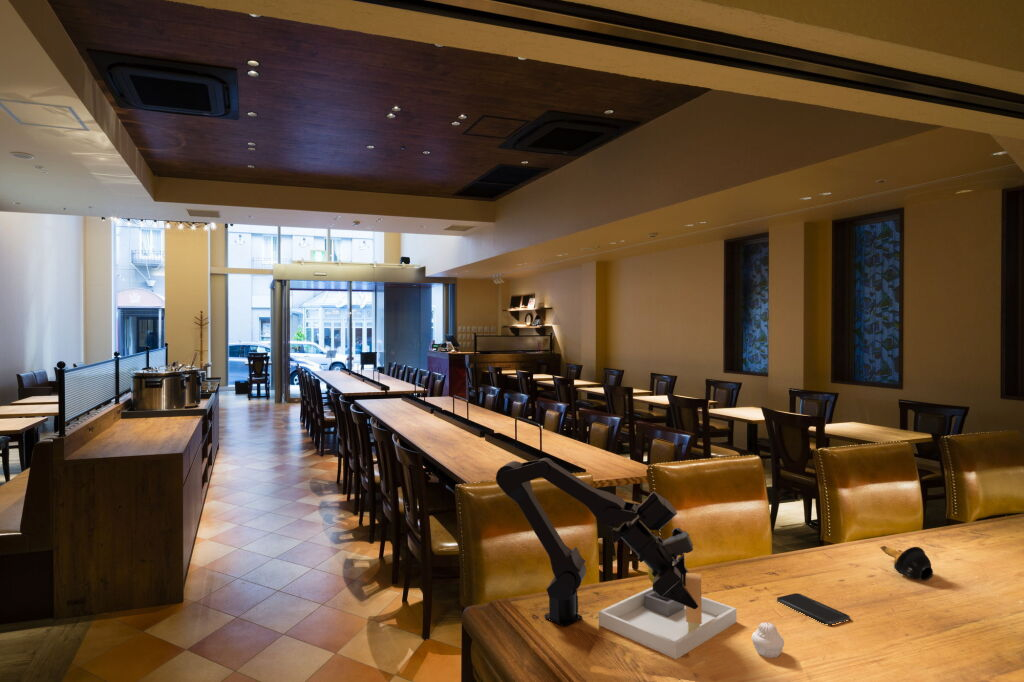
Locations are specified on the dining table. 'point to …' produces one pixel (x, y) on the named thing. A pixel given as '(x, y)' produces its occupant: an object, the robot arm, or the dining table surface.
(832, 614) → the phone
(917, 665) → the dining table surface
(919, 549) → the toilet plunger
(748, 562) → the dining table surface
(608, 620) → the walled tray
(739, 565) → the dining table surface
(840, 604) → the dining table surface
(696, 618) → the tan square peg
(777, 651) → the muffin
